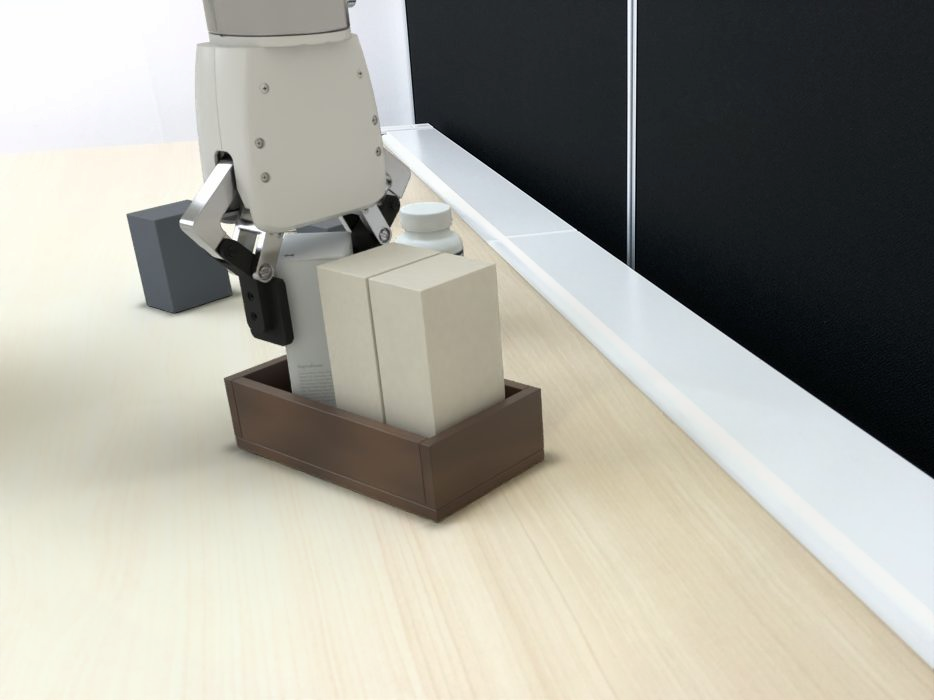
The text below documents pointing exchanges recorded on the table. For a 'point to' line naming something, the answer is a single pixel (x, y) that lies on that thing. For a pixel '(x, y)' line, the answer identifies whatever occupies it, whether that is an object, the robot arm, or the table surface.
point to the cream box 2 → (438, 342)
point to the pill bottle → (429, 228)
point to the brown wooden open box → (387, 443)
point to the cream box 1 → (358, 323)
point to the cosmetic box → (309, 309)
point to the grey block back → (174, 261)
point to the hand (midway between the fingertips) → (323, 320)
